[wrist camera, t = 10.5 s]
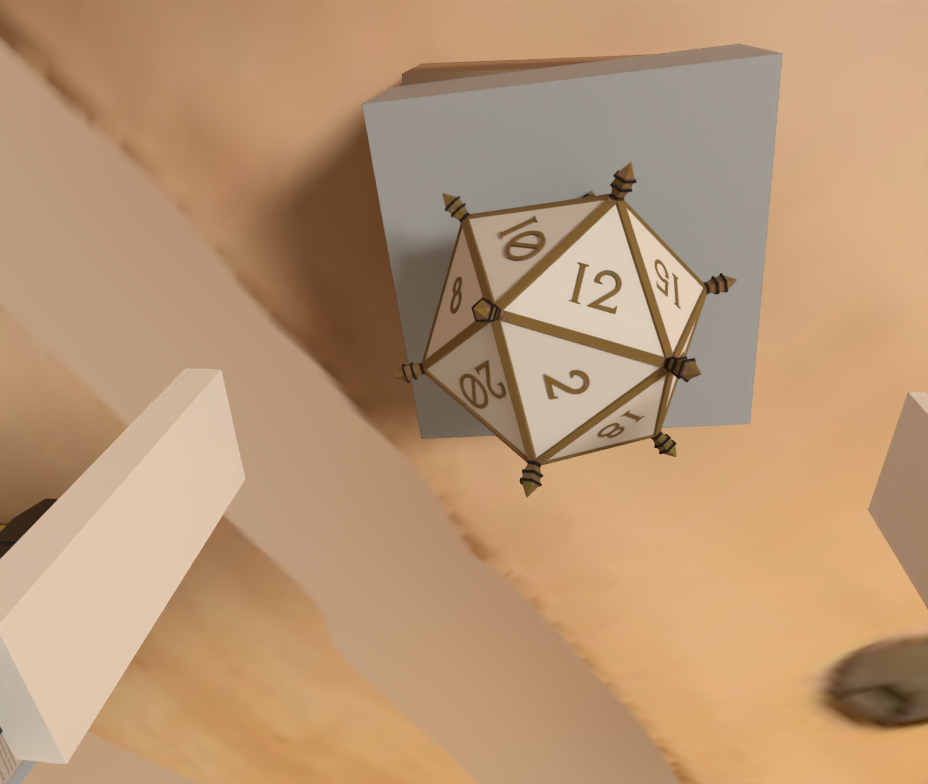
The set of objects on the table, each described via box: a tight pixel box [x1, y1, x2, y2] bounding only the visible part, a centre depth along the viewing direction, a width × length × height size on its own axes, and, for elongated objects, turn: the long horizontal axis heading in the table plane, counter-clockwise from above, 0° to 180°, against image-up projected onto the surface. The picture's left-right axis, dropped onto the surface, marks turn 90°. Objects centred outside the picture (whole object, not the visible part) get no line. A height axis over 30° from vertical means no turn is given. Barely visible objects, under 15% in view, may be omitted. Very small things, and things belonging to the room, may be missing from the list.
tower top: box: [362, 44, 783, 439], centre depth 25 cm, size 12×12×5 cm
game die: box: [392, 161, 737, 497], centre depth 20 cm, size 9×8×10 cm
